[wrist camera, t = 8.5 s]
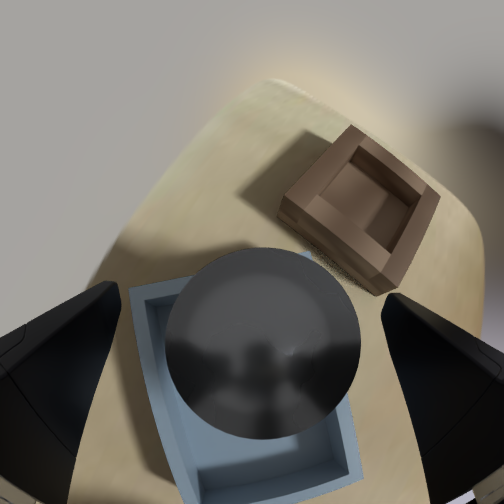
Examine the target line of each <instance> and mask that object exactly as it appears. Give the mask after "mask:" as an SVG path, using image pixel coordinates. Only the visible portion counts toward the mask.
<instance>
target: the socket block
mask: <svg viewBox="0 0 504 504" xmlns="http://www.w3.org/2000/svg"><path fill="white" fill-rule="evenodd" d="M440 197H441V196H440V195H439V194H438V193H437V192H435V191H434V190H433V189H432V188H431V187H430V186H429V185H428V184H427V183H426V182H424V181H423V180H422V179H421V178H420V177H419V176H418V175H416V174H415V173H414V172H413V171H412V170H411V169H409V168H408V167H407V166H406V165H405V164H403V163H402V162H401V161H400V160H398V159H397V158H396V157H395V156H393V155H392V154H391V153H390V152H388V151H387V150H386V149H385V148H383V147H382V146H381V145H379V144H378V143H377V142H375V141H374V140H373V139H371V138H370V137H368V136H367V135H366V134H364V133H363V132H361V131H360V130H359V129H357V128H356V127H354V126H353V125H350V126H349V127H348V128H347V129H346V130H345V131H344V132H343V133H342V134H341V135H340V136H339V137H338V138H337V140H336V141H335V142H334V143H333V144H332V145H331V146H330V147H329V148H328V149H327V150H326V151H325V152H324V153H323V154H322V155H321V156H320V157H319V158H318V159H317V161H316V162H315V163H314V164H313V165H312V166H311V167H310V168H309V169H308V170H307V171H306V172H305V173H304V174H303V175H302V176H301V177H300V179H299V180H298V181H297V182H296V183H295V184H294V185H293V186H292V187H291V188H290V189H289V190H288V191H287V192H286V193H285V194H284V196H283V199H282V202H281V205H280V208H279V211H278V214H277V217H278V218H280V219H281V220H282V221H284V222H285V223H286V224H287V225H289V226H290V227H291V228H293V229H294V230H295V231H296V232H298V233H299V234H300V235H301V236H303V237H304V238H305V239H306V240H308V241H309V242H310V243H311V244H313V245H314V246H315V247H317V248H318V249H319V250H320V251H321V252H323V253H324V254H325V255H326V256H328V257H329V258H330V259H331V260H333V261H334V262H335V263H336V264H337V265H339V266H340V267H341V268H342V269H344V270H345V271H346V272H347V273H348V274H350V275H351V276H352V277H353V278H354V279H356V280H357V281H358V282H359V283H360V284H362V285H363V286H364V287H365V288H366V289H368V290H369V291H370V292H371V293H372V294H373V295H375V296H376V297H377V296H379V295H382V294H384V293H386V292H389V291H391V290H393V289H396V288H398V286H399V285H400V283H401V281H402V279H403V277H404V275H405V273H406V271H407V270H408V268H409V266H410V264H411V262H412V260H413V258H414V256H415V254H416V252H417V250H418V248H419V246H420V243H421V241H422V239H423V237H424V235H425V233H426V230H427V228H428V226H429V224H430V221H431V219H432V217H433V214H434V212H435V210H436V207H437V205H438V202H439V200H440Z"/></svg>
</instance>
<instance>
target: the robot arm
mask: <svg viewBox="0 0 504 504" xmlns="http://www.w3.org/2000/svg"><path fill="white" fill-rule="evenodd" d="M120 312H121V298H120V294H119V289H118V285H117V283H116V282H115V281H103V282H101V283H99V284H97V285H95V286H94V287H92V288H90V289H88V290H86V291H84V292H82V293H80V294H78V295H77V296H75V297H73V298H71V299H69V300H67V301H65V302H64V303H62V304H60V305H58V306H56V307H55V308H53V309H51V310H49V311H47V312H45V313H44V314H42V315H40V316H38V317H37V318H35V319H33V320H31V321H29V322H28V323H27V324H24V325H22V326H21V327H19V328H17V329H15V330H13V331H12V332H10V333H8V334H6V335H4V336H2V337H1V338H0V504H36V501H38V502H40V503H42V504H67V499H68V494H69V489H70V484H71V479H72V475H73V470H74V466H75V462H76V458H75V457H77V453H78V449H79V445H80V441H81V437H82V434H83V430H84V427H85V423H86V420H87V416H88V413H89V410H90V407H91V403H92V400H93V397H94V394H95V391H96V388H97V385H98V382H99V379H100V376H101V373H102V371H103V368H104V365H105V362H106V359H107V357H108V354H109V351H110V348H111V345H112V342H113V338H114V334H115V330H116V326H117V322H118V319H119V315H120ZM381 321H382V325H383V328H384V332H385V336H386V340H387V344H388V348H389V352H390V355H391V358H392V361H393V364H394V367H395V370H396V373H397V376H398V379H399V382H400V385H401V388H402V391H403V394H404V398H405V401H406V404H407V407H408V411H409V414H410V418H411V421H412V425H413V428H414V432H415V436H416V439H417V443H418V447H419V451H420V455H421V460H422V464H423V469H424V473H425V478H426V483H427V488H428V493H429V499H430V504H446V503H448V502H450V501H452V500H454V499H456V498H458V497H460V496H462V495H463V494H465V493H467V492H469V491H470V490H473V493H474V495H475V498H474V499H473V500H471V501H469V502H468V503H466V504H504V353H502V352H500V351H499V350H496V349H495V348H493V347H491V346H490V345H488V344H486V343H485V342H483V341H481V340H480V339H478V338H476V337H474V336H473V335H471V334H470V333H468V332H466V331H465V330H463V329H461V328H460V327H458V326H456V325H455V324H453V323H451V322H450V321H448V320H446V319H444V318H443V317H441V316H439V315H438V314H436V313H434V312H432V311H431V310H429V309H427V308H425V307H424V306H422V305H420V304H419V303H417V302H415V301H413V300H411V299H410V298H408V297H406V296H404V295H403V294H401V293H390V294H388V296H387V298H386V301H385V303H384V306H383V309H382V312H381Z"/></svg>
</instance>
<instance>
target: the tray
mask: <svg viewBox="0 0 504 504" xmlns="http://www.w3.org/2000/svg"><path fill="white" fill-rule="evenodd" d="M298 254H300V255H302V256H305V257H307V258H309V259H310V260H312V257H311V253H310V251H307V252H302V253H298ZM312 261H313V260H312ZM193 276H194V275H192V276H187V277H182V278H177V279H172V280H167V281H162V282H157V283H152V284H146V285H141V286H136V287H131V288H128V289H129V297H130V304H131V311H132V318H133V324H134V330H135V336H136V341H137V346H138V352H139V357H140V362H141V366H142V371H143V375H144V380H145V384H146V388H147V392H148V396H149V400H150V404H151V408H152V412H153V415H154V419H155V422H156V426H157V429H158V432H159V436H160V439H161V442H162V445H163V448H164V451H165V454H166V457H167V460H168V463H169V466H170V469H171V471H172V474H173V477H174V480H175V482H176V485H177V487H178V490H179V492H180V495H181V497H182V500H183V502H184V504H294V503H297V502H301V501H304V500H308V499H311V498H314V497H317V496H320V495H323V494H326V493H329V492H332V491H334V490H337V489H340V488H342V487H345V486H347V485H350V484H352V483H355V482H357V481H359V480H362V479H364V477H363V471H362V465H361V459H360V454H359V448H358V443H357V438H356V433H355V427H354V423H353V418H352V413H351V408H350V403H349V399H348V394H347V393H346V395H345V396H344V398H343V399H342V401H341V402H340V403H339V404H338V405H337V407H336V408H335V409H334V410H333V411H332V412H331V413H330V414H329V415H327V416H326V417H325V418H324V419H323V420H321V421H320V422H318V423H317V424H315V425H314V426H312V427H310V428H308V429H306V430H304V431H302V432H300V433H297V434H294V435H291V436H288V437H283V438H279V439H269V440H256V439H247V438H241V437H237V436H234V435H231V434H227V433H225V432H223V431H221V430H218V429H216V428H214V427H213V426H211V425H210V424H208V423H206V422H205V421H203V420H202V419H201V418H200V417H199V416H197V415H196V414H195V413H194V412H193V411H192V410H191V409H190V408H189V407H188V405H187V404H186V403H185V402H184V401H183V399H182V398H181V396H180V394H179V393H178V391H177V390H176V388H175V385H174V383H173V381H172V379H171V376H170V373H169V370H168V366H167V361H166V355H165V335H166V327H167V323H168V319H169V315H170V312H171V310H172V307H173V305H174V303H175V301H176V299H177V297H178V296H179V294H180V292H181V291H182V289H183V288H184V287H185V285H186V284H187V283H188V282H189V280H190V279H191V278H192V277H193Z"/></svg>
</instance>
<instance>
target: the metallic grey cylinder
mask: <svg viewBox="0 0 504 504" xmlns="http://www.w3.org/2000/svg"><path fill="white" fill-rule="evenodd" d="M360 350H361V336H360V327H359V323H358V318H357V315H356V312H355V309H354V307H353V304H352V302H351V300H350V298H349V296H348V295H347V293H346V292H345V290H344V289H343V287H342V286H341V285H340V283H339V282H338V281H337V280H336V279H335V278H334V277H333V276H332V275H331V274H330V273H329V272H328V271H327V270H326V269H324V268H323V267H322V266H320V265H319V264H317V263H316V262H314V261H312V260H310V259H309V258H307V257H305V256H302V255H300V254H297V253H294V252H291V251H287V250H283V249H276V248H251V249H244V250H240V251H236V252H232V253H230V254H227V255H225V256H222V257H220V258H218V259H216V260H215V261H213V262H211V263H209V264H208V265H206V266H205V267H204V268H202V269H201V270H200V271H199V272H197V273H196V274H195V275H194V276H193V277H192V278H191V279H190V280H189V282H188V283H187V284H186V285H185V287H184V288H183V289H182V291H181V292H180V294H179V296H178V297H177V299H176V301H175V303H174V305H173V307H172V310H171V312H170V315H169V319H168V323H167V327H166V335H165V355H166V361H167V366H168V370H169V373H170V376H171V379H172V381H173V383H174V385H175V388H176V390H177V391H178V393H179V394H180V396H181V398H182V399H183V401H184V402H185V403H186V404H187V405H188V407H189V408H190V409H191V410H192V411H193V412H194V413H195V414H196V415H197V416H199V417H200V418H201V419H202V420H203V421H205V422H206V423H208V424H210V425H211V426H213V427H214V428H216V429H218V430H221V431H223V432H225V433H227V434H231V435H234V436H237V437H241V438H247V439H256V440H269V439H279V438H283V437H288V436H291V435H294V434H297V433H300V432H302V431H304V430H306V429H308V428H310V427H312V426H314V425H315V424H317V423H318V422H320V421H321V420H323V419H324V418H325V417H326V416H327V415H329V414H330V413H331V412H332V411H333V410H334V409H335V408H336V407H337V405H338V404H339V403H340V402H341V401H342V399H343V398H344V396H345V395H346V393H347V392H348V390H349V388H350V386H351V384H352V382H353V380H354V377H355V374H356V371H357V368H358V364H359V359H360Z"/></svg>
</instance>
